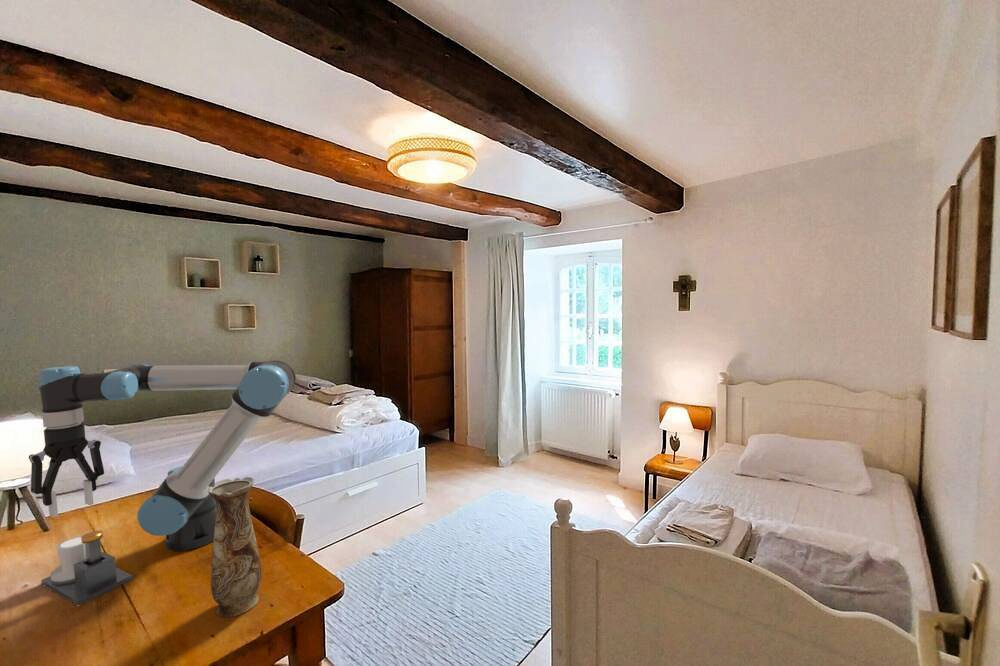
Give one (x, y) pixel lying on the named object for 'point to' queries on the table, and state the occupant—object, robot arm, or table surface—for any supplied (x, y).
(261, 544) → the table surface
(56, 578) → the grey rounded flat piece
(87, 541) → the gold capped peg
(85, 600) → the slotted base stand
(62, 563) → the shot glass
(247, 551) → the vase
